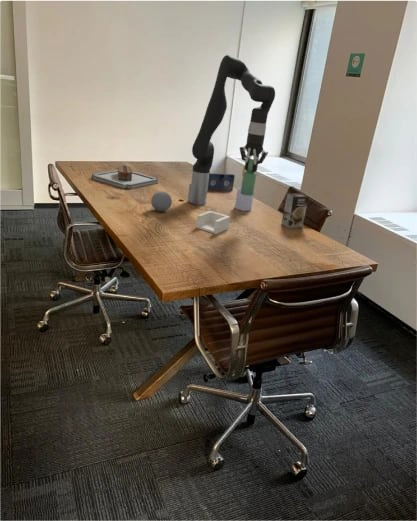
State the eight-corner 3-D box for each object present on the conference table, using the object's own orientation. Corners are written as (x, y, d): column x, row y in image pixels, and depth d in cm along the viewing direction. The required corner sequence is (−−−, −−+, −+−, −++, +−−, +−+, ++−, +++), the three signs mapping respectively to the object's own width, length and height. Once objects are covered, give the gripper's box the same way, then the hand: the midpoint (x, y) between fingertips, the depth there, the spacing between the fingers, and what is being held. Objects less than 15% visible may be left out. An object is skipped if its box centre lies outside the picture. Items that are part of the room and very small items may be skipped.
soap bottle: (250, 212, 239) (257, 166, 230) (233, 209, 241) (240, 163, 231) (251, 207, 247) (259, 163, 238) (235, 205, 249) (242, 161, 239)
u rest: (195, 227, 206) (197, 215, 203) (208, 222, 214) (210, 210, 212) (216, 234, 201) (217, 221, 198) (228, 228, 209) (230, 216, 207)
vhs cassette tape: (231, 189, 280) (233, 174, 276) (232, 191, 278) (235, 175, 274) (203, 188, 274) (205, 172, 270) (205, 190, 272) (207, 174, 268)
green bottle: (238, 193, 208) (243, 158, 201) (243, 191, 212) (249, 157, 206) (249, 196, 205) (255, 161, 199) (255, 194, 210) (261, 160, 204)
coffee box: (288, 228, 221) (294, 196, 215) (280, 224, 227) (286, 193, 220) (302, 227, 226) (309, 196, 219) (295, 223, 231) (301, 192, 224)
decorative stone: (159, 206, 229) (161, 187, 225) (174, 211, 224) (176, 192, 220) (146, 210, 221) (147, 190, 217) (161, 215, 216) (163, 195, 212)
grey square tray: (160, 184, 274) (161, 171, 271) (126, 191, 250) (127, 178, 247) (123, 173, 288) (124, 161, 285) (88, 179, 264) (89, 166, 261)
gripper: (274, 135, 198) (267, 173, 205) (246, 129, 204) (240, 167, 211) (267, 136, 192) (260, 175, 198) (238, 130, 198) (233, 169, 204)
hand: (250, 171), depth 204 cm, fingers closed on green bottle, 3 cm apart
